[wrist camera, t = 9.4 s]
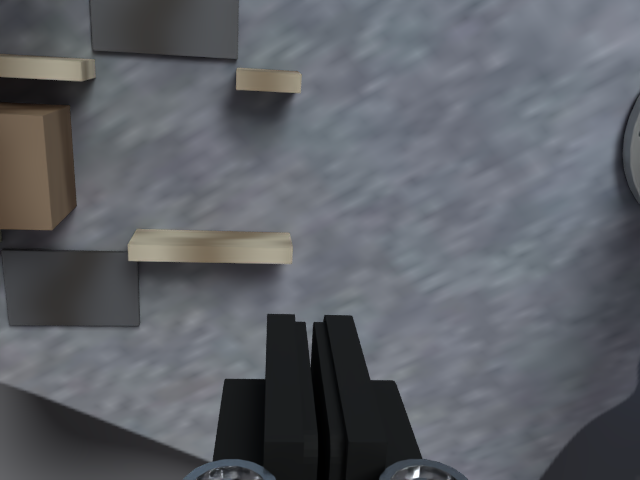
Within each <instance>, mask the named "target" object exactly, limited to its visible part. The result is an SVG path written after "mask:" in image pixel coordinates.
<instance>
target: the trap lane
mask: <svg viewBox="0 0 640 480" xmlns="http://www.w3.org/2000/svg"><path fill="white" fill-rule="evenodd" d="M90 6H91V25H92V44H93V50H97V51H114V52H130V53H147V54H163V55H180V56H196V57H213V58H229V59H238V12H239V0H90ZM0 77H12V78H30V79H49V80H67V81H85V80H89V79H92V78H96V76H95V59H80V58H63V57H46V56H29V55H12V54H0ZM301 77H302V74H300V73H299V72H298V71H284V70H267V69H250V68H237V71H236V90H251V91H270V92H288V93H301ZM1 242H2V235H1V229H0V243H1ZM1 254H2V263H3V272H4V281H5V290H6V300H7V309H8V318H9V325H88V326H139V325H140V306H139V277H138V261H153V262H207V263H261V264H292V254H293V247H292V242H291V237H290V233H275V232H236V231H196V230H156V229H137V230H136V231H135V233H134V235H133V237H132V238H131V240H130V242H129V243H128V252H124V251H75V250H27V249H2V250H1Z"/></svg>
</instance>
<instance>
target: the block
mask: <svg viewBox="0 0 640 480" xmlns="http://www.w3.org/2000/svg"><path fill="white" fill-rule="evenodd" d="M76 206H77V203H76V189H75V174H74V160H73V145H72V131H71V116H70V105H51V104H30V103H8V102H0V229H19V230H53V229H54V228H55V227H56V226H57V225H58V224H59V223H60V222H61V221H62V220H63V219H64V218H65V217H66V216H67V215H68V214H69V213H70V212H71V211H72V210H73V209H74V208H75V207H76Z"/></svg>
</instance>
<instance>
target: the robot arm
mask: <svg viewBox="0 0 640 480" xmlns="http://www.w3.org/2000/svg"><path fill="white" fill-rule="evenodd" d="M623 163H624V172H625V175H626V178H627V181H628V185H629V188H630V189H631V191H632V193H633V195H634V196H635V198H636V200H637V201H638V202H639V203H640V96H639V97H638V99H637V101H636V103H635V105H634V108H633V110H632V112H631V114H630V116H629V120H628V124H627V127H626V131H625V135H624V144H623ZM183 480H468V479H467V478H466V477H465V476H464V475H462V474H461V473H460V472H458V471H457V470H455V469H454V468H452V467H450V466H447V465H445V464H442V463H440V462H436V461H431V460H426V459H422V456H421V453H420V450H419V448H418V445H417V442H416V439H415V436H414V433H413V430H412V428H411V425H410V422H409V419H408V416H407V413H406V411H405V408H404V405H403V402H402V399H401V396H400V393H399V391H398V388H397V385H396V383H395V381H392V380H370V377H369V373H368V370H367V366H366V363H365V359H364V355H363V352H362V348H361V345H360V341H359V338H358V334H357V330H356V327H355V323H354V320H353V317H352V316H349V315H324V320H323V322H314V323H313V335H312V353H311V368H310V359H309V350H308V340H307V331H306V323H305V322H295V314H267V342H266V375H265V379H225V380H224V386H223V393H222V400H221V407H220V414H219V421H218V428H217V435H216V441H215V448H214V455H213V462H209V463H207V464H205V465H202V466H200V467H198V468H196V469H195V470H193V471H192V472H191V473H190V474H188V475H187V476H186V477H185V478H184V479H183Z"/></svg>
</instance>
